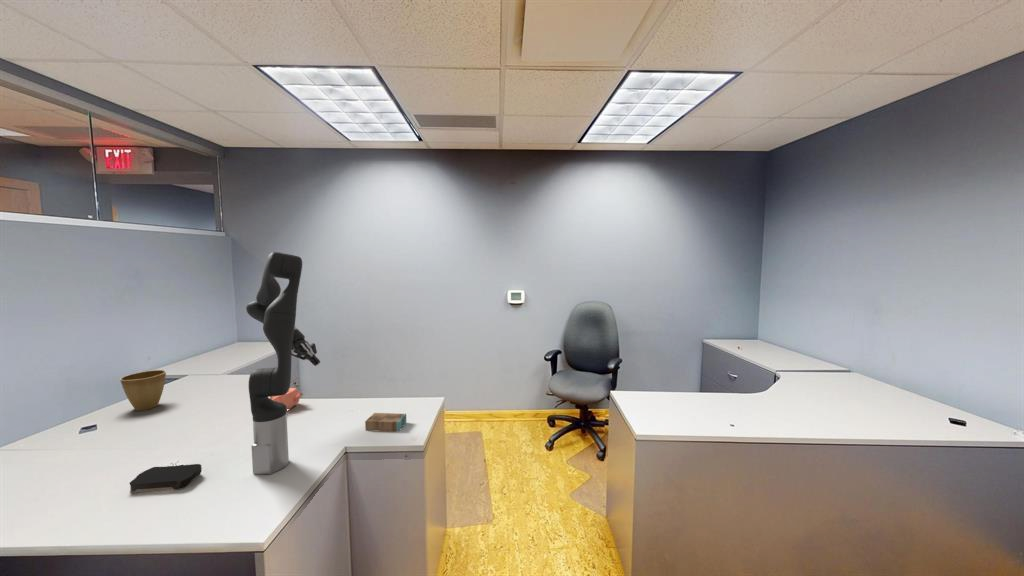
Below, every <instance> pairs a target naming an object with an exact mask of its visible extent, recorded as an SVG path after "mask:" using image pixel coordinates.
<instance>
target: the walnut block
mask: <svg viewBox="0 0 1024 576" xmlns="http://www.w3.org/2000/svg"><path fill="white" fill-rule="evenodd" d="M405 423H406V424H407V413H395V412H394V413H393V412H392V413H391V412H388V413H387V412H374V413H372V414H371V415H370V417H368V418H367V419H366V420H365V421H364V424H365V431H368V430H380V431H379V432H396V431H399V432H400V431H401V430H402V429H401V428H403V427H404V426H405V425H406V424H405ZM404 424H405V425H404ZM403 425H404V426H403ZM400 429H401V430H400Z"/></svg>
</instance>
